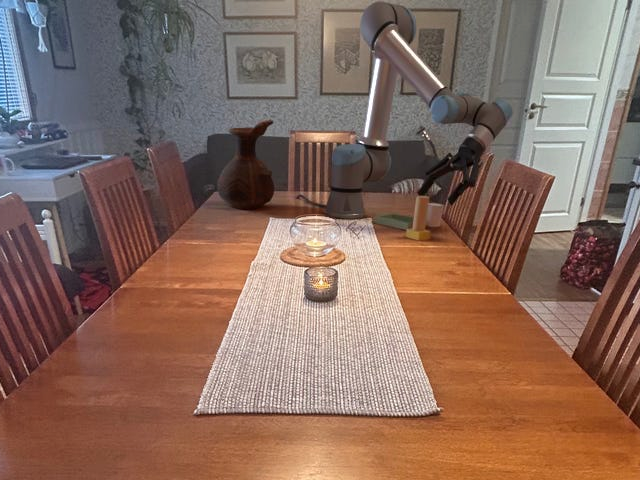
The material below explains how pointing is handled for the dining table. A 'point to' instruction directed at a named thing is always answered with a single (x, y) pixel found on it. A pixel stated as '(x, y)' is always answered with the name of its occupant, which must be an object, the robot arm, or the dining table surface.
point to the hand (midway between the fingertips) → (434, 198)
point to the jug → (246, 172)
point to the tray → (395, 221)
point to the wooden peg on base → (419, 220)
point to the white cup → (434, 214)
